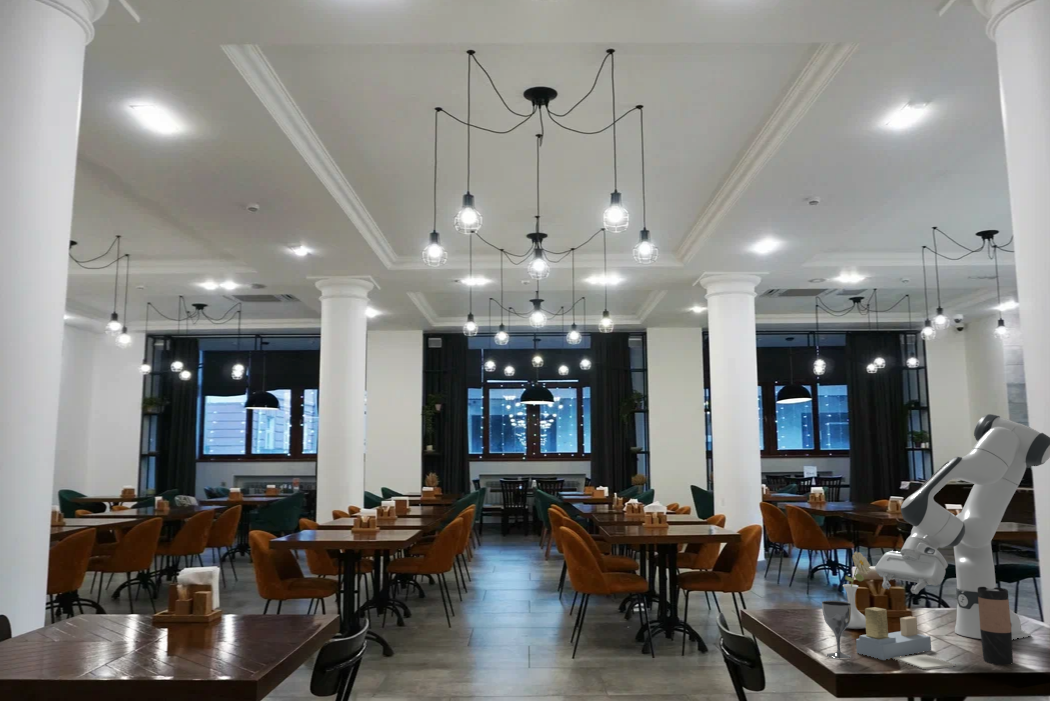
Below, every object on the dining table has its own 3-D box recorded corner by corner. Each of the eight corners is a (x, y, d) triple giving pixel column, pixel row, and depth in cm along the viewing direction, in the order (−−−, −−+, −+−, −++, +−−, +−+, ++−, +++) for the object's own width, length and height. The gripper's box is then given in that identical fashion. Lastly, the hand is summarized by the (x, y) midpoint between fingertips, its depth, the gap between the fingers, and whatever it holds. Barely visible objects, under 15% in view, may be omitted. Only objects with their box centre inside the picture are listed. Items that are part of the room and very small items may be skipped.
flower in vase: (848, 632, 256) (844, 554, 259) (827, 624, 267) (823, 550, 270) (883, 630, 259) (878, 553, 263) (860, 622, 270) (856, 549, 274)
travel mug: (1001, 666, 215) (996, 591, 218) (976, 659, 222) (970, 587, 225) (1020, 663, 218) (1014, 589, 221) (994, 657, 225) (989, 585, 228)
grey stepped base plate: (903, 644, 240) (902, 613, 242) (931, 650, 233) (929, 619, 234) (856, 653, 230) (855, 621, 231) (883, 660, 222) (881, 627, 223)
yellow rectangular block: (876, 638, 231) (874, 607, 232) (888, 641, 227) (886, 609, 229) (866, 640, 229) (864, 608, 230) (878, 643, 225) (876, 611, 226)
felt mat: (924, 656, 226) (924, 654, 226) (955, 666, 215) (955, 664, 215) (893, 659, 223) (893, 657, 223) (923, 669, 212) (922, 667, 212)
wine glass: (820, 652, 230) (817, 600, 232) (847, 652, 230) (844, 600, 232) (830, 659, 222) (827, 605, 224) (858, 660, 222) (855, 605, 224)
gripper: (881, 544, 249) (863, 577, 243) (943, 551, 231) (925, 588, 225) (891, 557, 250) (873, 591, 244) (953, 565, 233) (936, 602, 227)
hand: (899, 589), depth 235 cm, fingers open, 8 cm apart
